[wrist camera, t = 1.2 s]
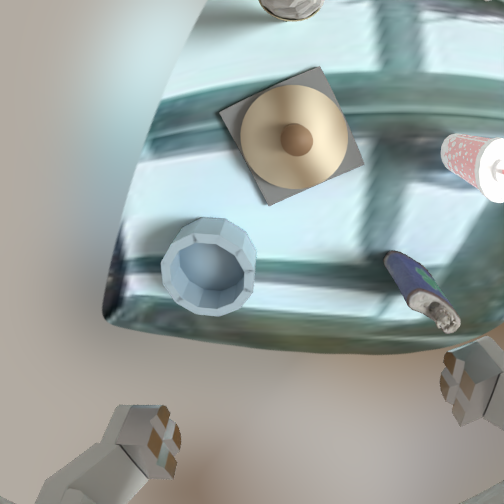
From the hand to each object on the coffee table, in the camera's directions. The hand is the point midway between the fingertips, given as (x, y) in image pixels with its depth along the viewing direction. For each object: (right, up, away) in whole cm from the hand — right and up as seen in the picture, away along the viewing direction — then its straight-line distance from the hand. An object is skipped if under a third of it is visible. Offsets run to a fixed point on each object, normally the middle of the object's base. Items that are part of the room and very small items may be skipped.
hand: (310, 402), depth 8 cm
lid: (+3, +15, +22) cm, 27 cm away
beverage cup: (+22, +15, +22) cm, 34 cm away
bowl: (-6, +3, +29) cm, 30 cm away
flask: (+18, +2, +28) cm, 34 cm away
